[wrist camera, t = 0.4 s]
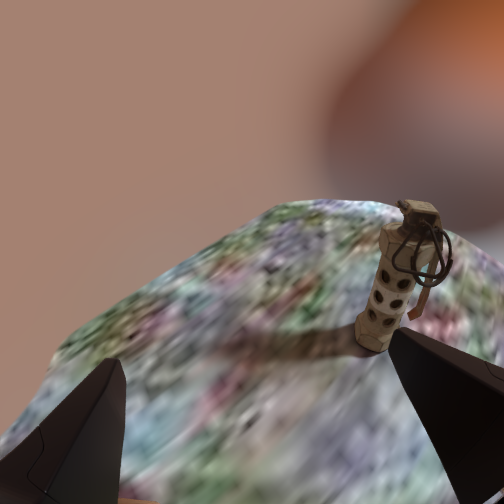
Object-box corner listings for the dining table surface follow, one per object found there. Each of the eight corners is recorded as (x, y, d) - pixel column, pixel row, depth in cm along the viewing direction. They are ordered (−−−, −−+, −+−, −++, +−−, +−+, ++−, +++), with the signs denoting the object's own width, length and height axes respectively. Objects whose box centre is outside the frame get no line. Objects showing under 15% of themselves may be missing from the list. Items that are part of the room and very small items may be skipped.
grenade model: (359, 370, 25) (411, 228, 17) (351, 319, 31) (383, 189, 23) (417, 368, 25) (482, 237, 16) (403, 320, 30) (445, 198, 22)
